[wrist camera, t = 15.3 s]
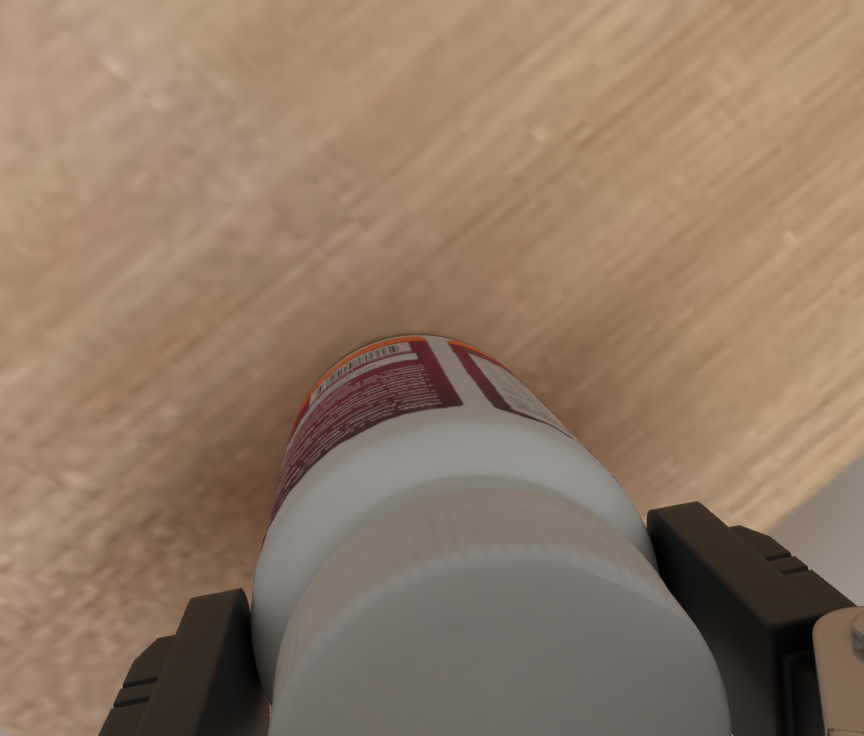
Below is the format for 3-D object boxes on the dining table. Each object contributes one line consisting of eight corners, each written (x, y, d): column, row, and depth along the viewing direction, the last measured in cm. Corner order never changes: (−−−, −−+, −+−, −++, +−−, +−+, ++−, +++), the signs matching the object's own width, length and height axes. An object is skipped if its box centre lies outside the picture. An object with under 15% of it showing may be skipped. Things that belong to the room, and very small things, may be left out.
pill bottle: (271, 553, 20) (169, 1000, 9) (311, 308, 19) (252, 460, 8) (512, 585, 20) (701, 1029, 9) (564, 352, 19) (846, 547, 8)
